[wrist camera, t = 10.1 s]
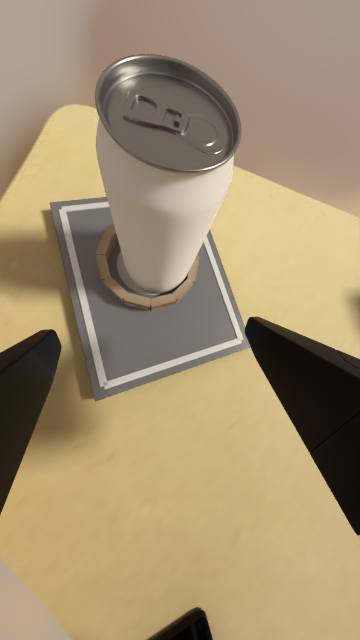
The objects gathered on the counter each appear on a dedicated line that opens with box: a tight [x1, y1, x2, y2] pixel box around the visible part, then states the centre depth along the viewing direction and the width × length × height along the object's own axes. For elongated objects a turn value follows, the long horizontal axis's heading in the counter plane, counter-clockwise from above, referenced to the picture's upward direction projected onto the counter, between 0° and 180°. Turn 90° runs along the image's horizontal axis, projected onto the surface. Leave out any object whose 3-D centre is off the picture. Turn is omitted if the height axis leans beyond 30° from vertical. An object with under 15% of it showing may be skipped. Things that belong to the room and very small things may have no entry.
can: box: [95, 54, 241, 293], centre depth 12 cm, size 6×6×12 cm
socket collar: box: [95, 224, 199, 311], centre depth 17 cm, size 10×10×2 cm
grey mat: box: [50, 197, 250, 401], centre depth 18 cm, size 16×20×1 cm
